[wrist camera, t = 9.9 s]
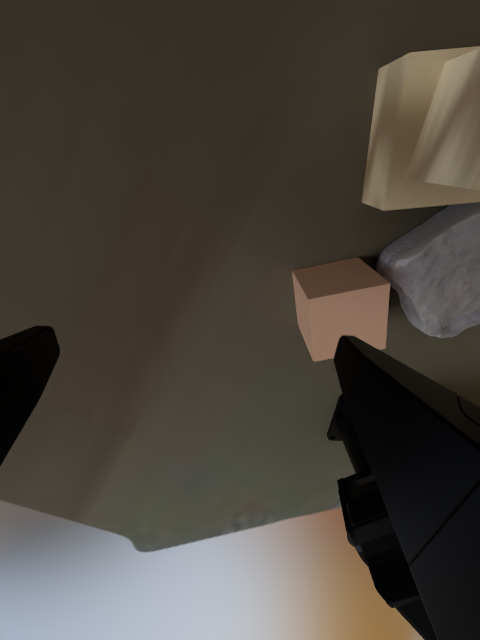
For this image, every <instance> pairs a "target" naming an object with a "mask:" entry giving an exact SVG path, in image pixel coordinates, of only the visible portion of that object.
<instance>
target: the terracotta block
mask: <svg viewBox="0 0 480 640" xmlns="http://www.w3.org/2000/svg"><path fill="white" fill-rule="evenodd" d="M292 274H293V283H294V292H295V301H296V310H297V319H298V326H299V328H300V331H301V333H302V335H303V338H304V340H305V343H306V345H307V347H308V350H309V352H310V355H311V357H312V359H313V362H315V361H321V360H326V359H332V358H334V355H335V351H336V348H337V344H338V341H339V338H340V337H341V336H342V335H352V336H355V337H357V338H359V339H361V340H362V341H364V342H366V343H368V344H369V345H371V346H373V347H375V348H377V349H378V350H381V349H385V347H386V334H387V321H388V308H389V294H390V283H389V282H388V281H387V280H386V279H384V278H383V277H382V276H381V275H379V274H378V273H377V272H376V271H374V270H373V269H372V268H371V267H369V266H368V265H367V264H366V263H365V262H363V261H362V260H361V259H360V258H358V257H357V258H352V259H347V260H342V261H337V262H332V263H327V264H322V265H317V266H312V267H307V268H303V269H298V270H293V271H292Z"/></svg>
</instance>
